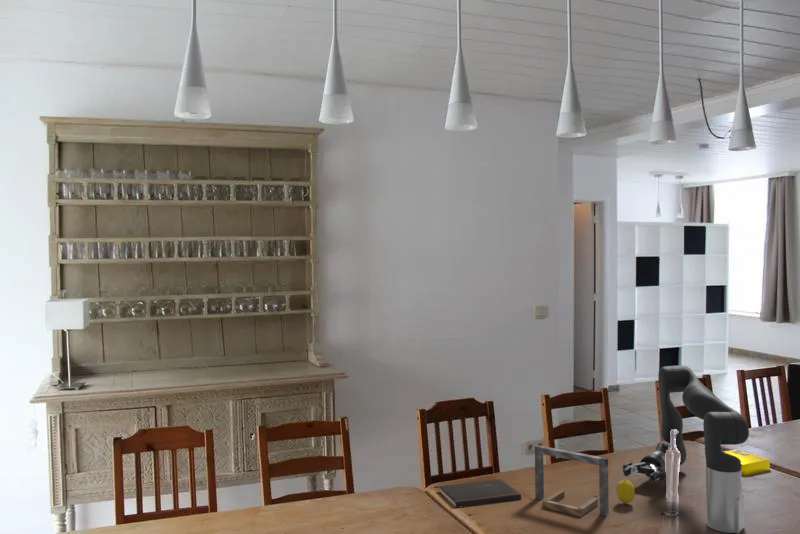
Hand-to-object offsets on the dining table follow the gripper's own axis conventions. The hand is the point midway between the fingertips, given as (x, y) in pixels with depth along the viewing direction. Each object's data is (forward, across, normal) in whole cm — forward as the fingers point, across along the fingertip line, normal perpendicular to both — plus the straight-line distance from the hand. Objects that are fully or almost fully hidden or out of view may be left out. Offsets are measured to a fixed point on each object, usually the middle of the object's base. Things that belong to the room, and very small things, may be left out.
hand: (638, 476), depth 216 cm
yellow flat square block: (-52, +19, +7) cm, 56 cm away
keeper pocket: (+23, -13, +6) cm, 27 cm away
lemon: (+11, 0, +6) cm, 13 cm away
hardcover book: (+33, -41, +7) cm, 53 cm away
